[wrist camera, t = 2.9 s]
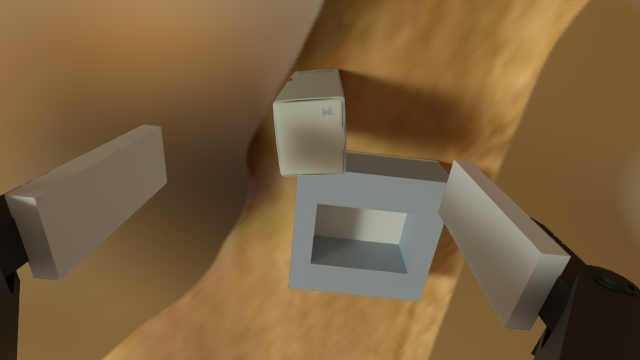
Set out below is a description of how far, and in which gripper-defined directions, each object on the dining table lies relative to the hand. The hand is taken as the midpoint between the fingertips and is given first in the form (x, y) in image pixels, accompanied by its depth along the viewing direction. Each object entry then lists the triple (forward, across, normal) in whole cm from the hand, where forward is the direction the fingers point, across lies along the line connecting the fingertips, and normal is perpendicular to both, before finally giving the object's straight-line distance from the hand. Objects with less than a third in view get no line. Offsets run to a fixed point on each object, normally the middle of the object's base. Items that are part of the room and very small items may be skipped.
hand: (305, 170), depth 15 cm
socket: (+18, +6, -12) cm, 23 cm away
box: (+18, 0, 0) cm, 18 cm away
